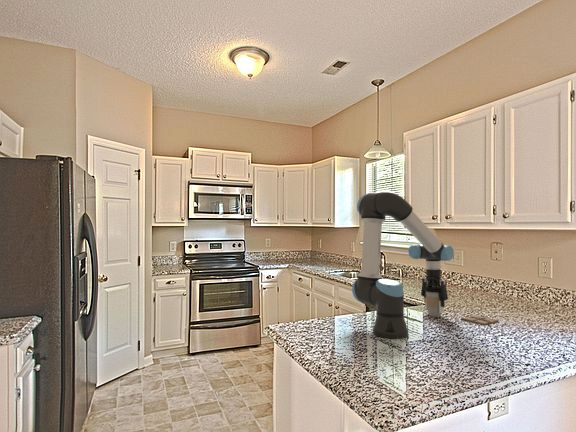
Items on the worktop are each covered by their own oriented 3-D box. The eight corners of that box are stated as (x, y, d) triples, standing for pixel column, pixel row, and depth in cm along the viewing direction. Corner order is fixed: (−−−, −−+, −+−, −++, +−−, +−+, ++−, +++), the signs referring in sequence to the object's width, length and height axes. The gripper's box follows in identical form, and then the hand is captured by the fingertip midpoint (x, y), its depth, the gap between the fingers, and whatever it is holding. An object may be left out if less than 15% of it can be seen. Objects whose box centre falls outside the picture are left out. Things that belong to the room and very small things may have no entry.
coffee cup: (441, 318, 183) (440, 289, 183) (422, 315, 188) (422, 287, 189) (445, 314, 190) (445, 286, 191) (427, 312, 196) (427, 285, 197)
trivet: (483, 325, 169) (483, 322, 169) (461, 319, 180) (461, 317, 180) (498, 321, 175) (498, 319, 175) (475, 316, 186) (475, 314, 186)
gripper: (455, 270, 183) (456, 314, 182) (422, 266, 201) (423, 306, 200) (445, 271, 179) (446, 316, 178) (413, 267, 198) (414, 308, 197)
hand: (434, 311), depth 189 cm, fingers closed on coffee cup, 8 cm apart
